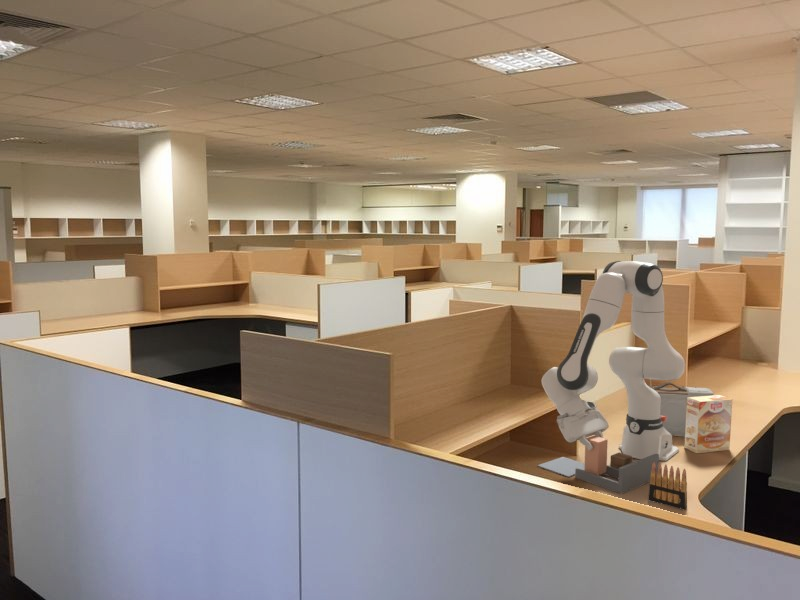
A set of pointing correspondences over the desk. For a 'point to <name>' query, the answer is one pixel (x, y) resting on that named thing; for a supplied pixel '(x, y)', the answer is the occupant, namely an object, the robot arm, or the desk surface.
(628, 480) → the lane rack
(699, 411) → the coffeecake box
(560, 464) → the slate mat
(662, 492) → the ammunition clip
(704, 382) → the desk surface
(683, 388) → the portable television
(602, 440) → the terracotta block
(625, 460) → the walnut block
